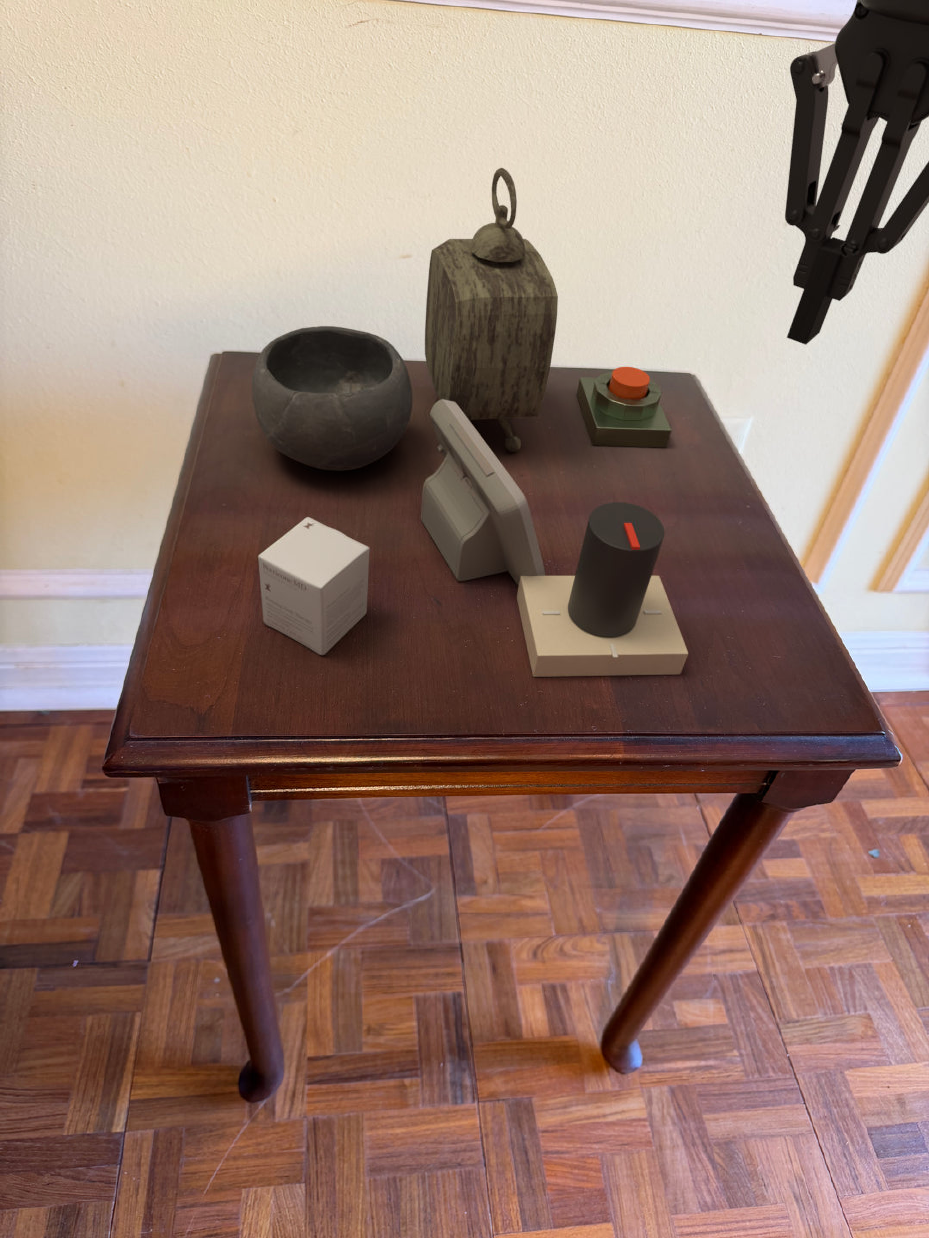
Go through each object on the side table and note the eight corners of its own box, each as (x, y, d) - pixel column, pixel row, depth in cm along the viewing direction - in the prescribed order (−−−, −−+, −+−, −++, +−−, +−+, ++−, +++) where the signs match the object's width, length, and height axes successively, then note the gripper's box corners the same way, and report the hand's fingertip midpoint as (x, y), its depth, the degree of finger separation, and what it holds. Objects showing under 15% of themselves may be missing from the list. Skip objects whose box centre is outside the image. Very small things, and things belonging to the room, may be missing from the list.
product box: (261, 624, 71) (254, 554, 66) (309, 582, 75) (307, 513, 70) (322, 658, 69) (321, 589, 64) (369, 613, 73) (371, 545, 68)
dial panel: (651, 593, 78) (658, 570, 76) (681, 678, 71) (691, 656, 69) (515, 593, 76) (519, 570, 74) (533, 681, 69) (538, 657, 67)
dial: (561, 588, 73) (583, 498, 67) (627, 588, 74) (655, 499, 68) (574, 638, 69) (598, 547, 63) (644, 637, 70) (674, 547, 64)
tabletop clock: (533, 461, 90) (578, 206, 73) (446, 466, 88) (470, 205, 71) (498, 385, 100) (530, 144, 82) (418, 388, 98) (434, 142, 80)
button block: (666, 447, 94) (676, 415, 91) (592, 445, 93) (600, 412, 90) (645, 397, 101) (653, 365, 98) (576, 394, 100) (582, 362, 97)
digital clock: (548, 600, 76) (570, 499, 68) (443, 608, 74) (455, 506, 67) (503, 484, 87) (518, 387, 79) (411, 489, 85) (418, 390, 78)
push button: (649, 402, 94) (654, 387, 92) (612, 400, 93) (616, 385, 92) (641, 381, 96) (645, 367, 95) (605, 380, 96) (608, 365, 95)
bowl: (416, 495, 84) (423, 402, 77) (255, 497, 82) (246, 401, 75) (402, 409, 95) (406, 320, 88) (258, 408, 92) (251, 317, 85)
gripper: (815, -86, 49) (700, 321, 65) (1065, -43, 44) (873, 386, 60) (860, -90, 54) (742, 291, 70) (1092, -52, 49) (906, 349, 65)
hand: (803, 335), depth 65 cm, fingers closed
